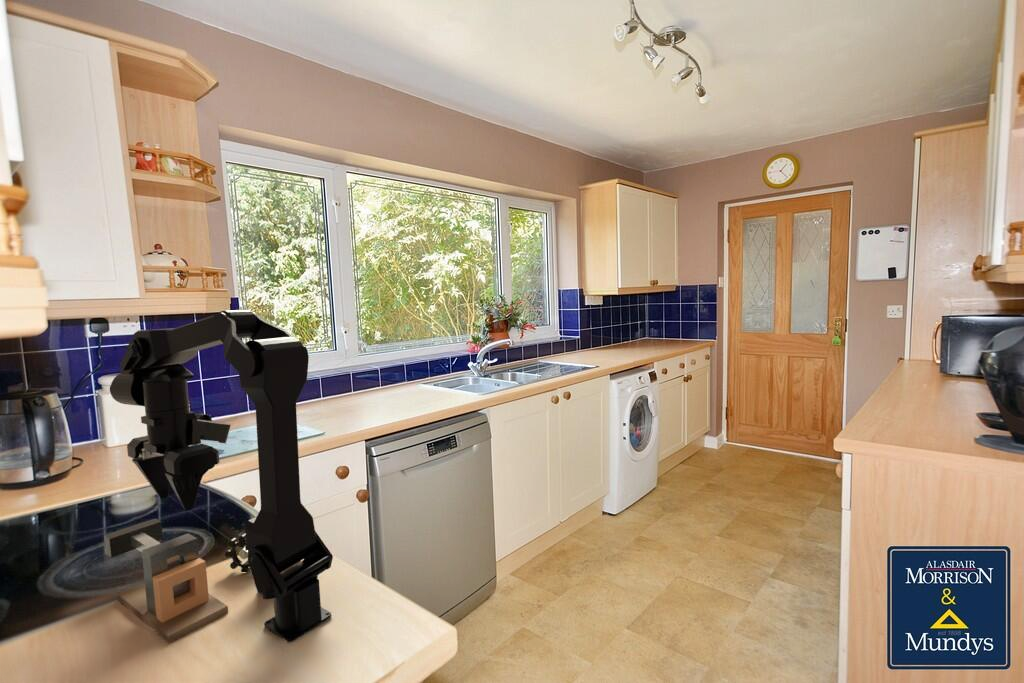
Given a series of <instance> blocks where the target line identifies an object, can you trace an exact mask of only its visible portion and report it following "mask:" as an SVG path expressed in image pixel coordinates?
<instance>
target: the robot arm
mask: <svg viewBox="0 0 1024 683" xmlns="http://www.w3.org/2000/svg"><path fill="white" fill-rule="evenodd" d="M248 338H249V339H251V340H248V341H246V342H244V341H243V340H242V339H248ZM219 345H223V357H224V359H225V360H226V361H227V362H228V363H229V364H230V365H231V366H232V367H233V368H234V369H235V370H236V371H238V377H239V381H240V382H239V384H240V387H241V389H242V391H244V392H245V394H246V395H247V396H248V398H249V399H250V400H251V402H253V404H254V407H255V420H256V421H255V424H256V438H257V439H256V440H257V441H256V442H257V458H258V475H259V493H260V494H259V496H260V497H259V498H260V510H259V512H258V513H257V515H256V516H254V517H252V518H250V519H248V520H246V522H245V524H244V525H245V526H244V532H245V533H244V534H246V547H245V550H246V551H247V550H248V558H247V561H248V563H249V566H250V567H249V568H250V572H251V576H252V578H253V582H254V586H255V588H256V591H257V593H258V592H259V593H261V594H263V596H262V599H263V600H265V601H266V600H272V599H273V610H274V616H273V617H272V618H269V619H268V620H266V621H265V622H264V623H263V624H264V628H265V629H267V630H269V631H270V632H272V633H274V634H275V635H276V636H278V637H280V638H281V639H283V640H284V641H285V642H287V643H291V642H294V641H296V640H297V639H299V638H301V637H302V636H304V635H305V634H307V633H308V632H311V630H313V629H315V628H317V627H318V626H320V625H321V624H322V623H324V622H326V621H328V620H329V619H331V618H332V612H331V611H329V610H328V609H325V608H324V607H322V606H321V605H322V604H321V603H322V602H321V590H320V579H319V577H318V576H319V575H320V574H322V573H323V572H325V571H326V570H330V568H331V567H332V562H333V558H334V556H333V554H332V553H331V551H330V550H329V549H328V547H327V546H326V544H325V543H324V541H323V540H322V539H321V537H320V536H319V535H318V532H316V528H315V522H314V517H313V515H312V514H311V513H310V511H309V510H307V508H306V507H305V506H304V505H303V503H302V500H301V484H300V482H301V481H300V480H301V479H300V464H299V461H300V460H299V459H300V458H299V441H298V418H297V417H298V414H297V401H298V399H299V397H300V395H301V393H302V391H303V389H304V387H305V385H306V383H307V381H308V372H309V370H308V369H309V358H310V356H309V352H308V349H307V347H306V346H305V345H304V344H303V342H302V341H300V339H298V338H296V337H295V336H293V335H292V334H291V333H290V332H289V331H287V330H286V329H283V327H280V326H277V325H275V324H274V323H271V322H269V321H266V320H265V319H263V318H262V317H261V315H259V314H258V313H256V312H255V311H252V310H249V309H235V310H234V309H232V310H220V311H219V312H216V313H215V314H213V315H211V316H207V317H205V318H202V319H199V320H196V321H192V322H191V323H186V324H183V325H181V326H177V327H175V328H157V329H140V330H137V331H135V332H134V333H133V335H132V338H131V339H130V340H129V342H128V344H127V348H126V350H125V352H124V355H123V357H122V359H121V361H120V363H119V366H120V369H119V373H118V374H117V375H115V377H114V378H113V380H112V381H111V384H110V385H109V392H110V396H111V397H112V399H113V400H115V401H116V402H117V403H120V404H123V405H127V406H128V405H129V406H137V407H139V406H140V407H144V411H145V412H144V413H145V415H141V416H140V422H141V424H144V425H146V433H147V435H143V436H139V437H134V438H132V439H131V440H130V441H129V443H128V444H127V445H126V447H127V448H126V449H127V457H130V458H131V461H132V463H134V465H135V466H136V467H137V469H139V471H140V472H141V474H142V475H143V477H144V478H145V480H146V481H147V482H148V483H149V485H150V486H151V488H152V489H153V490H154V492H155V494H156V495H157V496H158V498H159V499H160V500H164V499H167V498H168V497H169V493H170V486H171V488H172V489H173V492H174V493H175V495H176V497H177V499H178V501H179V503H180V505H181V507H183V509H184V511H185V512H188V511H191V510H193V509H194V508H195V506H196V500H197V497H198V493H199V488H200V486H201V482H202V479H203V476H204V475H205V474H206V473H207V472H208V471H209V470H212V469H213V468H215V466H216V465H218V464H220V453H219V450H217V448H215V447H213V446H210V445H208V444H204V443H202V441H208V442H209V441H210V442H218V443H220V444H227V442H228V441H227V440H228V437H229V432H230V431H231V430H230V429H231V425H232V424H229V423H225V422H221V421H214V420H212V419H213V418H212V416H211V414H206V413H197V412H196V411H195V412H196V413H195V412H194V411H190V402H189V401H190V400H189V399H190V398H189V392H188V391H189V389H188V380H193V379H194V378H195V375H194V373H192V371H190V370H188V369H187V368H186V367H185V366H184V365H183V364H185V363H187V362H189V361H190V360H192V359H193V358H195V357H197V356H198V352H199V351H202V350H206V349H208V348H212V347H216V346H219ZM299 561H301V562H299ZM298 562H299V563H298ZM296 563H298V564H296ZM294 564H296V565H294ZM292 565H294V566H293V567H291V566H292ZM289 567H291V568H289ZM287 568H289V569H288V570H286V569H287ZM284 570H286V571H284ZM282 571H284V572H283V573H281V572H282ZM280 573H281V574H280Z"/></svg>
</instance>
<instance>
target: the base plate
mask: <svg viewBox="0 0 1024 683" xmlns="http://www.w3.org/2000/svg"><path fill="white" fill-rule="evenodd" d="M208 595H209V600H208V601H206V602H204V603H202V604H200V605H198V606H196V607H194V608H192V609H190V610H188V611H186V612H183V613H181V614H179V615H177V616H175V617H173V618H171V619H169V620H167V621H165V622H163V623H162V622H161V621H160V620H159V619H157V618H156V617H155V616H154V615H153V614H151V613H150V612H149V611H148V610H147V600H146V590H145V582H143V583H140V584H138V585H136V586H133V587H131V588H128V589H126V590H123V591H120V592H119V593H117V600H118V601H119V602H120V603H121V604H122V605H123V606H124V607H125V608H127V609H128V610H129V609H130V610H129V611H130V612H132V613H133V614H134V615H135V616H136V615H137V616H138V617H137V616H136V617H137V618H139V619H140V620H141V621H142V622H143V623H144V624H146V626H148V628H150V629H151V630H153V631H154V632H155V633H156V634H157V635H158V636H160V637H161V638H162V639H163V640H164V641H165V642H166V643H168V644H170V643H172V642H174V641H175V640H177V639H180V638H182V637H183V636H186V635H187V634H189V633H191V632H193V631H195V630H197V629H198V628H200V627H202V626H204V625H206V624H209V623H211V622H212V621H214V620H216V619H218V618H219V617H222V616H224V615H226V614H228V613H229V609H228V607H229V606H228V605H227V604H225V602H222V601H221V600H219V599H218V598H217V597H215V596H213V595H212V594H210V593H209V592H208Z"/></svg>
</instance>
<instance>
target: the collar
mask: <svg viewBox="0 0 1024 683" xmlns="http://www.w3.org/2000/svg"><path fill="white" fill-rule="evenodd" d="M206 562H207V561H206V560H204V559H202V558H200V557H199V558H197V559H195V560H192V561H190V562H188V563H185V564H183V565H180V566H178V567H175V568H173V569H171V570H168V571H166V572H163V573H161V574H158V575H156V576H154V577H153V587H154V598H155V608H156V618H157V619H159V620H160V621H161V622H162V623H163V622H165V621H167V620H169V619H171V618H173V617H175V616H177V615H179V614H181V613H183V612H186V611H188V610H190V609H192V608H194V607H196V606H198V605H200V604H202V603H204V602H206V601H208V600H209V595H208V593H209V585H208V575H207V573H208V572H207V564H206ZM187 580H189V586H190V591H189V592H187V593H185V594H183V595H180V596H178V597H176V598H174V595H173V586H175V585H177V584H180V583H182V582H184V581H187Z"/></svg>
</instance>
